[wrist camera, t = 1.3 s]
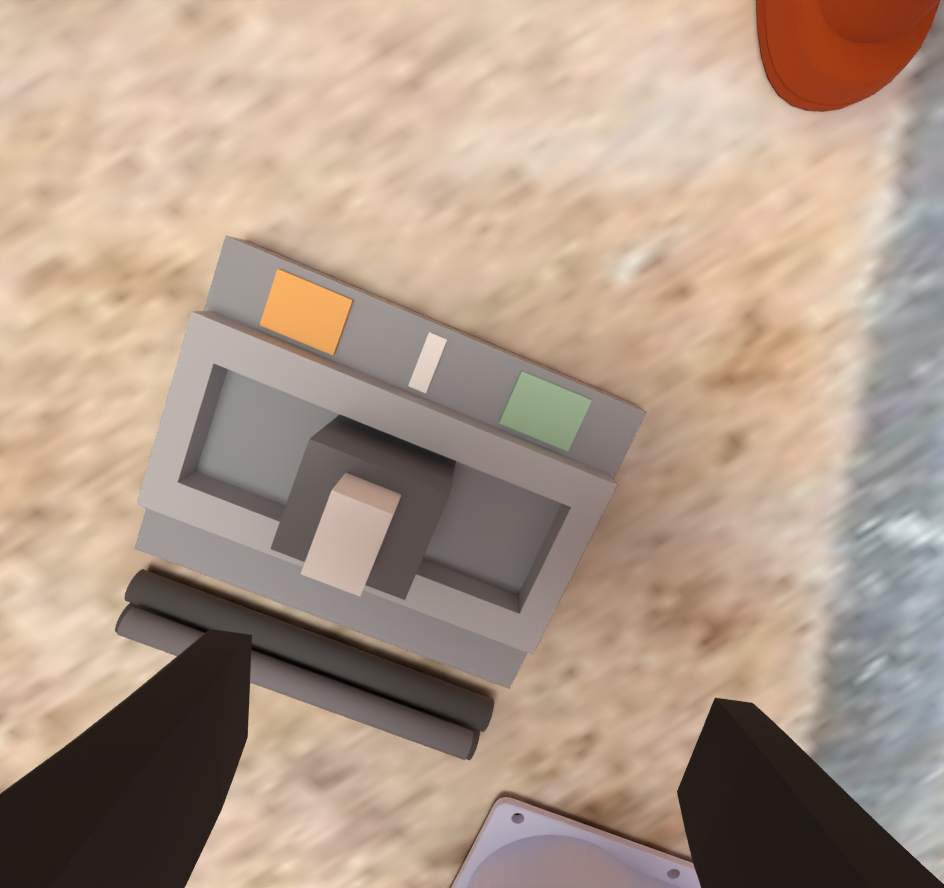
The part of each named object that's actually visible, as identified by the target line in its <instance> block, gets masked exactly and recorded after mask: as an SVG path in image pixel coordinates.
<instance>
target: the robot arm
mask: <svg viewBox="0 0 944 888" xmlns="http://www.w3.org/2000/svg"><path fill="white" fill-rule="evenodd" d="M251 648H252V635H250V634H243V633H236V632H228V631H221V630H214V629H211V630H209V631H208V632H206V633H205V634H203V635H202V636H201V637H200V638H198V639H197V640H196V641H195V642H194V643H192V644H191V645H190V646H189V647H188V648H186V649H185V650H184V651H183V652H182V653H180V654H179V655H178V656H177V657H176V658H175V659H173V660H172V661H171V662H170V663H169V664H167V665H166V666H165V667H164V668H163V669H161V670H160V671H159V672H158V673H157V674H155V675H154V676H153V677H152V678H151V679H149V680H148V681H147V682H146V683H145V684H143V685H142V686H141V687H140V688H138V689H137V690H136V691H135V692H134V693H132V694H131V695H130V696H129V697H127V698H126V699H125V700H124V701H122V702H121V703H120V704H119V705H117V706H116V707H115V708H113V709H112V710H111V711H110V712H108V713H107V714H106V715H105V716H103V717H102V718H101V719H100V720H98V721H97V722H96V723H94V724H93V725H92V726H91V727H89V728H88V729H87V730H86V731H84V732H83V733H82V734H81V735H79V736H78V737H77V738H75V739H74V740H73V741H71V742H70V743H69V744H67V745H66V746H65V747H64V748H62V749H61V750H59V751H58V752H57V753H55V754H54V755H53V756H51V757H50V758H49V759H47V760H46V761H44V762H43V763H42V764H40V765H39V766H38V767H36V768H35V769H33V770H32V771H31V772H29V773H28V774H27V775H25V776H24V777H22V778H21V779H20V780H18V781H17V782H16V783H14V784H13V785H11V786H10V787H9V788H7V789H6V790H5V791H3V792H2V793H1V794H0V888H185V886H186V884H187V882H188V880H189V878H190V875H191V873H192V871H193V869H194V867H195V865H196V863H197V861H198V859H199V857H200V854H201V852H202V850H203V848H204V846H205V844H206V842H207V840H208V838H209V835H210V833H211V831H212V829H213V827H214V825H215V823H216V821H217V818H218V816H219V814H220V812H221V810H222V807H223V804H224V802H225V799H226V796H227V794H228V791H229V788H230V785H231V783H232V780H233V777H234V775H235V772H236V769H237V766H238V763H239V760H240V757H241V755H242V752H243V749H244V746H245V743H246V740H247V738H248V715H249V693H250V670H251ZM677 794H678V799H679V803H680V808H681V813H682V817H683V822H684V827H685V832H686V836H687V840H688V844H689V848H690V852H691V856H692V860H693V863H691V862H689V861H686V860H683V859H680V858H678V857H675V856H672V855H669V854H666V853H664V852H661V851H658V850H655V849H652V848H650V847H647V846H644V845H641V844H638V843H636V842H633V841H630V840H627V839H624V838H622V837H619V836H616V835H613V834H611V833H608V832H605V831H602V830H599V829H597V828H594V827H591V826H588V825H585V824H583V823H580V822H577V821H574V820H571V819H569V818H566V817H563V816H560V815H558V814H555V813H552V812H549V811H546V810H544V809H541V808H538V807H535V806H532V805H530V804H527V803H524V802H521V801H518V800H516V799H513V798H509V797H503V798H500V799H498V800H497V801H496V802H495V804H494V806H493V808H492V809H491V811H490V813H489V815H488V817H487V819H486V821H485V823H484V825H483V827H482V829H481V831H480V833H479V835H478V837H477V838H476V840H475V842H474V844H473V846H472V848H471V850H470V852H469V854H468V856H467V858H466V860H465V862H464V864H463V865H462V867H461V869H460V871H459V873H458V875H457V877H456V879H455V881H454V883H453V885H452V887H451V888H944V884H943V883H942V882H941V881H939V880H938V879H937V878H936V877H935V876H934V875H933V874H932V873H931V872H929V871H928V870H927V869H926V868H925V867H924V866H923V865H922V864H921V863H920V862H919V861H918V860H917V859H915V858H914V857H913V856H912V855H911V854H910V853H909V852H908V851H907V850H906V849H905V848H904V847H903V846H902V845H900V844H899V843H898V842H897V841H896V840H895V839H894V838H893V837H892V836H891V835H890V834H889V833H888V832H887V831H886V830H885V829H884V828H882V827H881V826H880V825H879V824H878V823H877V822H876V821H875V820H874V819H873V818H872V817H871V816H870V815H869V814H868V813H867V812H866V811H865V810H864V809H863V808H862V807H861V806H860V805H859V804H858V803H856V802H855V801H854V800H853V799H852V798H851V797H850V796H849V795H848V794H847V793H846V792H845V791H844V790H843V789H842V788H841V787H840V786H839V785H838V784H837V783H836V782H835V781H834V780H833V779H832V778H831V777H830V776H829V775H828V774H827V773H826V772H825V771H824V770H823V769H822V768H821V767H820V766H819V765H818V764H817V763H815V762H814V761H813V760H812V759H811V758H810V757H809V756H808V755H807V754H806V753H805V752H804V751H803V750H802V749H801V748H800V747H799V746H798V745H797V744H796V743H795V742H794V741H793V740H792V739H791V738H790V737H789V736H788V735H787V734H786V733H785V732H784V731H783V730H781V729H780V728H779V727H778V726H777V725H776V724H775V723H774V722H773V721H772V720H771V719H770V718H769V717H768V716H767V715H765V714H764V713H763V712H762V711H761V710H760V709H759V708H758V707H756V706H755V705H754V704H753V703H750V702H742V701H735V700H728V699H720V698H715V699H714V701H713V704H712V706H711V709H710V711H709V714H708V716H707V719H706V721H705V724H704V726H703V729H702V731H701V734H700V736H699V739H698V741H697V744H696V746H695V748H694V751H693V753H692V756H691V758H690V761H689V763H688V766H687V768H686V771H685V773H684V776H683V778H682V781H681V783H680V786H679V788H678V791H677ZM515 813H521V815H514V814H515ZM671 869H672V870H671Z"/></svg>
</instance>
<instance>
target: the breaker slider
mask: <svg viewBox="0 0 944 888" xmlns="http://www.w3.org/2000/svg"><path fill="white" fill-rule="evenodd" d="M455 463H456V461H455V460H452V459H450V458H447V457H445V456H442V455H440V454H438V453H435V452H433V451H430V450H428V449H425V448H423V447H420V446H418V445H415V444H413V443H410V442H408V441H405V440H403V439H400V438H398V437H395V436H393V435H390V434H388V433H385V432H383V431H380V430H378V429H375V428H373V427H370V426H368V425H365V424H363V423H360V422H358V421H355V420H353V419H350V418H348V417H346V416H343V415H341V414H340V415H338V416H337V417H336V418H335V419H333V420H332V421H331V422H330V423H328V424H327V425H326V426H325V427H323V428H322V429H321V430H320V431H318V432H317V433H316V434H315V435H313V436H312V437H311V438H310V439H309V441H308V444H307V447H306V449H305V452H304V455H303V458H302V461H301V463H300V466H299V469H298V472H297V475H296V478H295V480H294V483H293V486H292V489H291V492H290V495H289V497H288V500H287V503H286V506H285V509H284V512H283V514H282V517H281V520H280V523H279V526H278V528H277V531H276V534H275V537H274V540H273V543H272V545H271V548H270V549H271V550H274V551H277V552H279V553H282V554H285V555H287V556H290V557H292V558H295V559H298V560H300V561H303V562H305V563H304V566H303V569H302V571H301V575H304V576H307V577H309V578H312V579H315V580H317V581H320V582H323V583H325V584H328V585H331V586H333V587H336V588H338V589H341V590H344V591H346V592H349V593H352V594H354V595H357V596H361V593H362V591H363V589H364V586H365V585H366V586H369V587H371V588H374V589H377V590H379V591H382V592H384V593H387V594H390V595H392V596H395V597H398V598H400V599H403V600H405V599H406V597H407V594H408V592H409V590H410V587H411V585H412V583H413V580H414V578H415V576H416V573H417V571H418V569H419V566H420V564H421V562H422V559H423V557H424V555H425V552H426V550H427V547H428V545H429V543H430V540H431V538H432V536H433V533H434V531H435V529H436V526H437V524H438V522H439V519H440V517H441V515H442V512H443V510H444V508H445V505H446V503H447V501H448V498H449V496H450V492H451V486H452V480H453V474H454V468H455Z"/></svg>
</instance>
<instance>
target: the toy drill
mask: <svg viewBox="0 0 944 888" xmlns="http://www.w3.org/2000/svg"><path fill="white" fill-rule="evenodd" d="M939 2H940V0H757V26H758V34H759V42H760V49H761V56H762V59H763V63H764V66H765V69H766V73H767V76H768V79H769V81H770V82H771V84H772V85H773V87H774V89H775V90H776V92H777V93H778V95H779V96H780V97H782V98H783V99H784V100H786V101H787V102H788V103H790V104H791V105H793V106H796V107H799V108H802V109H805V110H810V111H829V110H836V109H841V108H844V107H846V106H849V105H851V104H854V103H856V102H858V101H861V100H863V99H865V98H867V97H870V96H871V95H873V94H875V93H876V92H878V91H879V90H880V89H882V88H883V87H884V86H886V85H887V84H888V83H890V82H891V81H892V80H893V79H894V78H895V77H896V76H897V75H898V74H899V73H900V72H901V71H902V69H903V68H904V67H905V66H906V65H907V64H908V63H909V62H910V60H911V59H912V58H913V57H914V55H915V54H916V53H917V52H918V50H919V49H920V48H921V46H922V44H923V42H924V40H925V38H926V36H927V34H928V32H929V30H930V28H931V26H932V23H933V20H934V17H935V14H936V11H937V8H938V5H939Z"/></svg>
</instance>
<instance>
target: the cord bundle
mask: <svg viewBox="0 0 944 888" xmlns="http://www.w3.org/2000/svg"><path fill="white" fill-rule="evenodd" d="M125 601H128V602H130V604H129V605H128V606H127V607H126V608H125V609H124V611H123V612H122V614H121V615H120V617H119V619H118V621H117V624H116V628H115V631H116V633H118V635H120V636H123V637H126V638H128V639H131V640H134V641H137V642H139V643H142V644H145V645H148V646H151V647H153V648H156V649H159V650H162V651H164V652H167V653H170V654H173V655H175V656H178V655H179V654H180V653H182V652H183V651H184V650H185V649H186V648H188V647H189V646H190V645H191V644H192V643H194V642H195V641H196V640H197V639H198V638H200V637H201V636H202V635H203V634H205V633H206V632H208V631H209V630H211V629H214V630H221V631H228V632H236V633H243V634H250V635H252V648H251V670H250V683H253V684H256V685H258V686H261V687H264V688H267V689H270V690H272V691H275V692H278V693H281V694H283V695H286V696H289V697H292V698H294V699H297V700H300V701H303V702H305V703H308V704H311V705H314V706H317V707H319V708H322V709H325V710H328V711H330V712H333V713H336V714H339V715H341V716H344V717H347V718H350V719H353V720H355V721H358V722H361V723H364V724H366V725H369V726H372V727H375V728H377V729H380V730H383V731H386V732H389V733H391V734H394V735H397V736H400V737H402V738H405V739H408V740H411V741H413V742H416V743H419V744H422V745H424V746H427V747H430V748H433V749H436V750H438V751H441V752H444V753H447V754H449V755H452V756H455V757H458V758H460V759H463V760H465V759H468V760H471V758H472V757H473V755H474V753H475V750H476V748H477V744H478V740H479V734H480V731H483V732H484V731H485V730H486V728H487V727H488V725H489V722H490V720H491V716H492V713H493V707H494V700H493V699H491V698H489V697H486V696H483V695H481V694H478V693H475V692H473V691H470V690H467V689H464V688H462V687H459V686H456V685H454V684H451V683H448V682H446V681H443V680H440V679H438V678H435V677H432V676H429V675H427V674H424V673H421V672H419V671H416V670H413V669H411V668H408V667H405V666H403V665H400V664H397V663H394V662H392V661H389V660H386V659H384V658H381V657H378V656H376V655H373V654H370V653H367V652H365V651H362V650H359V649H357V648H354V647H351V646H349V645H346V644H343V643H341V642H338V641H335V640H332V639H330V638H327V637H324V636H322V635H319V634H316V633H314V632H311V631H308V630H306V629H303V628H300V627H297V626H295V625H292V624H289V623H287V622H284V621H281V620H279V619H276V618H273V617H271V616H268V615H265V614H262V613H260V612H257V611H254V610H252V609H249V608H246V607H244V606H241V605H238V604H235V603H233V602H230V601H227V600H225V599H222V598H219V597H217V596H214V595H211V594H209V593H206V592H203V591H200V590H198V589H195V588H192V587H190V586H187V585H184V584H182V583H179V582H176V581H174V580H171V579H168V578H165V577H163V576H160V575H157V574H155V573H152V572H149V571H147V570H144V569H142V570H140V571H139V572H138V573H137V574H136V575H135V576H134V578H133V579H132V580H131V582H130V584H129V586H128V588H127V590H126V593H125Z"/></svg>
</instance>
